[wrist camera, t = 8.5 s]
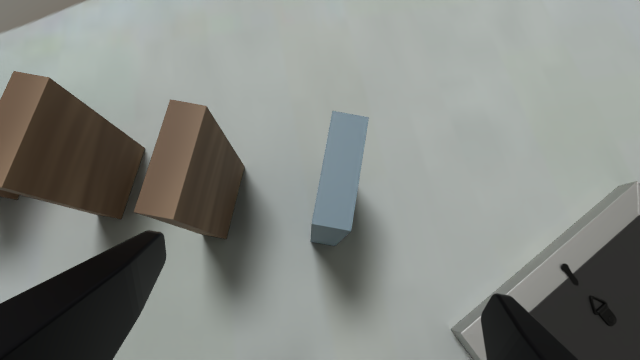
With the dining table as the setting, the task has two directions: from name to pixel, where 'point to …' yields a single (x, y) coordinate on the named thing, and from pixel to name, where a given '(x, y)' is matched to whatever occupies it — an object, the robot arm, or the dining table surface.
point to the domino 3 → (339, 178)
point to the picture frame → (581, 285)
